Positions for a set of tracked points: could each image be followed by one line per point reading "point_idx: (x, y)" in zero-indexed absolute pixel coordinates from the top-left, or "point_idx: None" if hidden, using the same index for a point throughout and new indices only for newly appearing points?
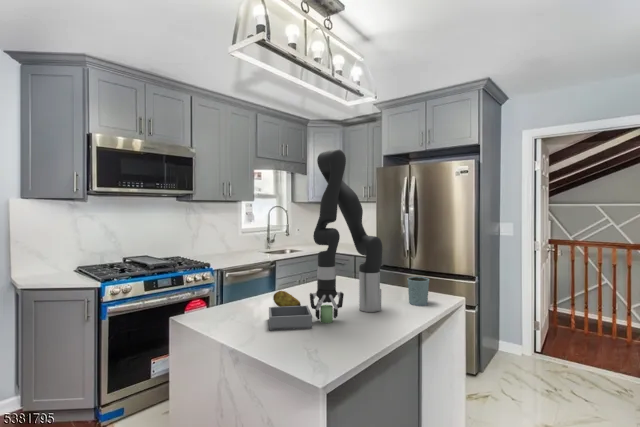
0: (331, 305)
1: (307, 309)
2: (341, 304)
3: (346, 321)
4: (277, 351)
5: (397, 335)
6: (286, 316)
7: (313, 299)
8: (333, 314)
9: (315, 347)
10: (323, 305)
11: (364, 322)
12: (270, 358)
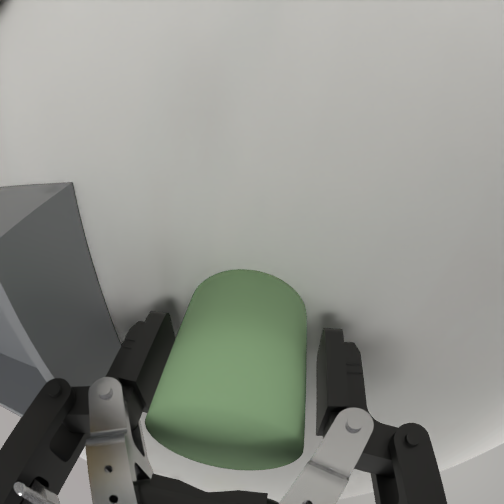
0: (298, 439)
1: (39, 371)
2: (394, 481)
3: (408, 351)
4: (84, 448)
5: (463, 459)
6: (4, 407)
7: (56, 492)
8: (325, 345)
9: (173, 473)
10: (183, 418)
11: (489, 372)
12: (85, 457)
